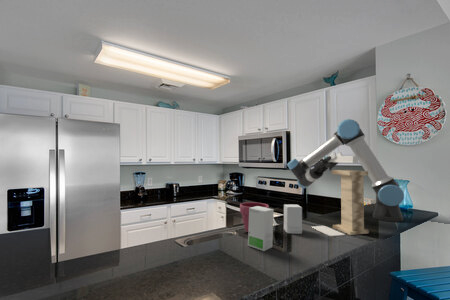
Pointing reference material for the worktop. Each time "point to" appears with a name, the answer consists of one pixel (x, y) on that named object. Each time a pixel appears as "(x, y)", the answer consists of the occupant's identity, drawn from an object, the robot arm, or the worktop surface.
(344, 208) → the stand
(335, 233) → the notepad
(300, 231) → the supplement box
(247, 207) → the plant pot
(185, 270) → the worktop surface
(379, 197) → the robot arm
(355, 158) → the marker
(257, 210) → the skincare box
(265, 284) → the worktop surface
